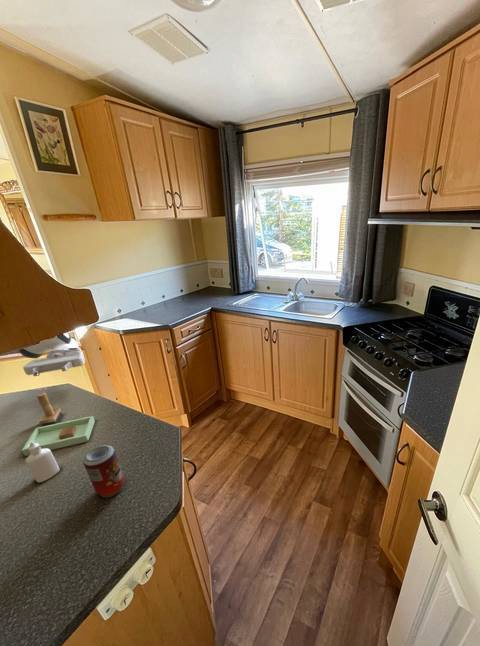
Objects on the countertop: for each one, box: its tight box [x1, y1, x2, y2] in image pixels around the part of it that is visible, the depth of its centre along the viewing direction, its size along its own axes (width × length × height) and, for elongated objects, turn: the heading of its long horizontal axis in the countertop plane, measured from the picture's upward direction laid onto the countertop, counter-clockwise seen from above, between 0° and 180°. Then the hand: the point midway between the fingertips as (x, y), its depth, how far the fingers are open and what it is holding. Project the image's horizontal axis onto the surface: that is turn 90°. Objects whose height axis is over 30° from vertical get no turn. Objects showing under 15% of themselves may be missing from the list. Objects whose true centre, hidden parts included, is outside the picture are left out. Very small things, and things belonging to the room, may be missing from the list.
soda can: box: [82, 444, 125, 498], centre depth 74 cm, size 7×7×12 cm
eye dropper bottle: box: [25, 441, 61, 483], centre depth 79 cm, size 4×6×12 cm
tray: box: [21, 415, 96, 457], centre depth 97 cm, size 18×12×2 cm, turn 109°
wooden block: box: [59, 426, 77, 440], centre depth 97 cm, size 4×4×2 cm
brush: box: [36, 392, 63, 427], centre depth 104 cm, size 4×7×12 cm, turn 19°
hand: (49, 371), depth 110 cm, fingers open, 8 cm apart
